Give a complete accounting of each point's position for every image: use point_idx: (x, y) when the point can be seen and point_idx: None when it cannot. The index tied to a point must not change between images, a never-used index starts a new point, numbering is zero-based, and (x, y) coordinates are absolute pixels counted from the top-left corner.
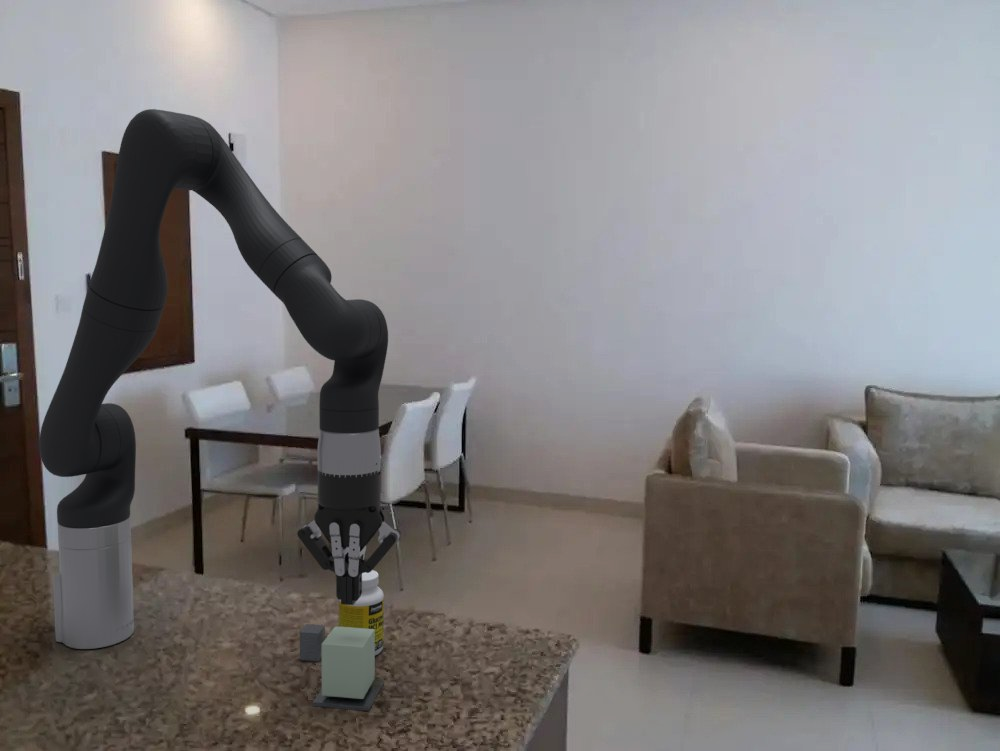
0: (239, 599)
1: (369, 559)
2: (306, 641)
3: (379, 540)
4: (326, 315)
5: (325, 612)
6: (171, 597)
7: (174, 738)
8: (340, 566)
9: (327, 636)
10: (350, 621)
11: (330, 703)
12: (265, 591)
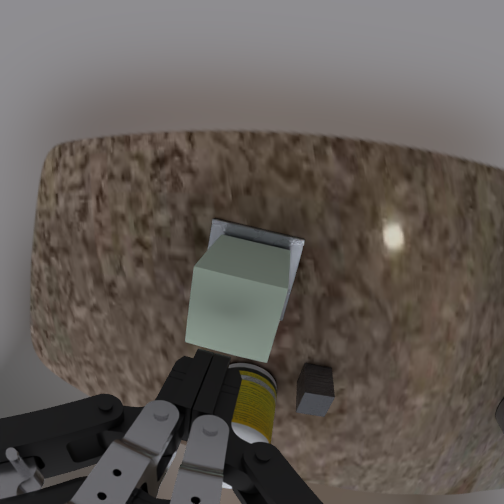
0: (393, 473)
1: (83, 425)
2: (323, 385)
3: (15, 458)
4: None
5: (299, 458)
6: (451, 465)
7: (477, 171)
8: (203, 441)
9: (278, 322)
10: (250, 405)
11: (275, 234)
12: (365, 485)
